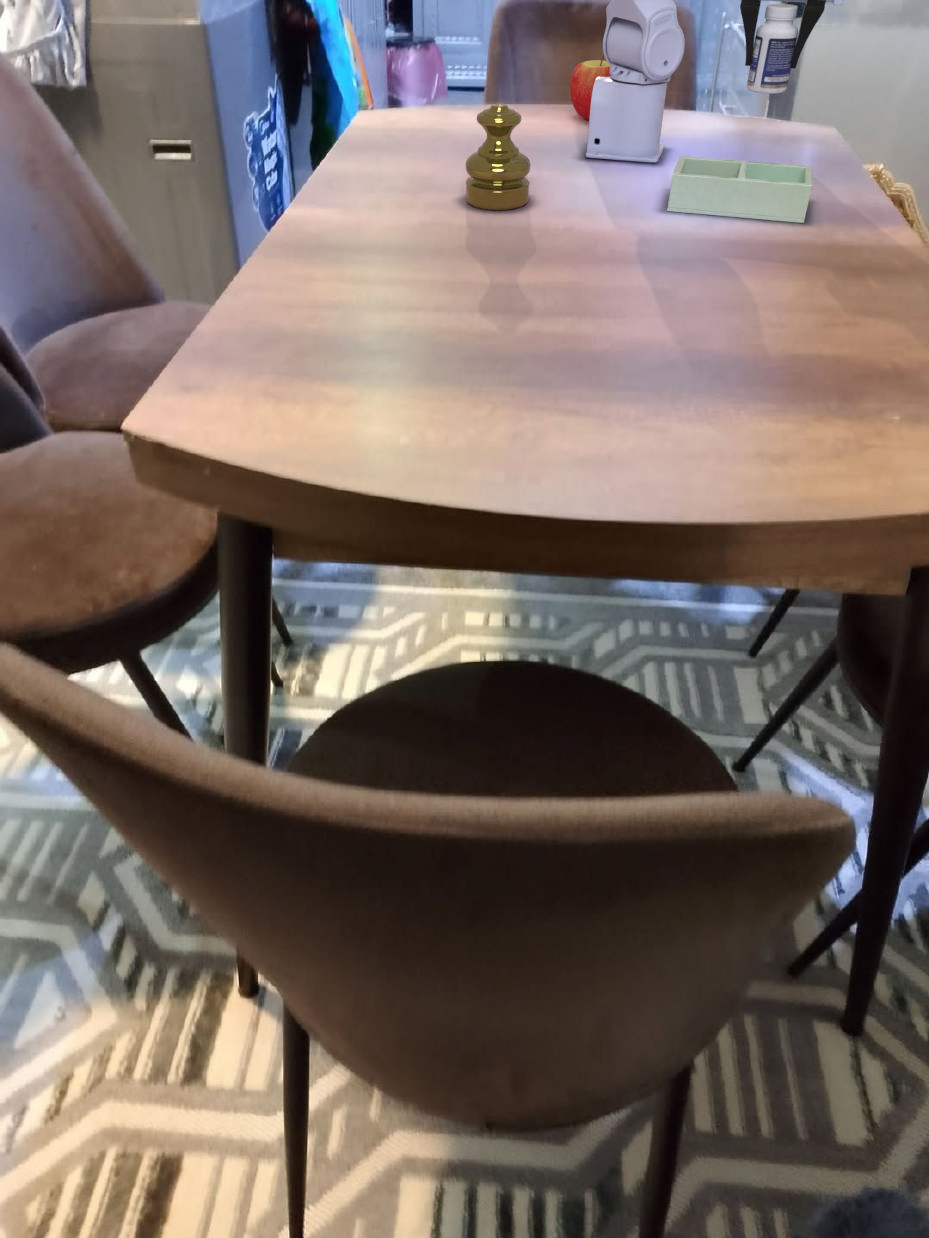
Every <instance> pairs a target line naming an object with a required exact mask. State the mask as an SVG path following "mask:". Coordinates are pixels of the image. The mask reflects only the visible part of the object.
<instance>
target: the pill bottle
mask: <svg viewBox="0 0 929 1238" xmlns="http://www.w3.org/2000/svg"><path fill="white" fill-rule="evenodd" d="M765 7H766V8H765V12H764V19H765V22H764V23H762V24H760V25H759V26H758V27H757V28H756V31H755V37H754V47H753V53H752V60H751V65H750V66H749V70H748V74H747V75H748V76H747V82H746V89H747V90H748V91H749V92H753V93H757V94H764V95H765V94H767V95H768V94H769V95H776V94H783V93H785V92H786V90H787V88H788V85H789V80H790V75H791V70H792V68H790V67H791V62H792V58H793V54H794V50H795V46H796V42H797V39H798V34H799V29H798V27H797V26H796V25H794V21H795V20H797V19H796V17H797V15H798V10H799V9H798V8H799V6H798V5H796V4H787V3H772V4H771V3H770V4H767V5H766V6H765Z"/></svg>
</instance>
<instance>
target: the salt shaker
mask: <svg viewBox="0 0 929 1238" xmlns="http://www.w3.org/2000/svg"><path fill="white" fill-rule="evenodd" d="M476 122H477V124H479V125H480V126H481V128H483V130H484V131H485V134H486V139H485V140H484V142H483V143H482V144H481V145H480V146H479V147H478V148H477V151H475V152H473V153H472V154H470V155H469V157H467V159H466V161H465V170H466V171H465V172H466V173H467V174H468V176H470V177H468V178H467V179H466V180H465V187H466V188H465V189H466V190H465V196H466V197H465V200H466V201H467V203H468V204H469V205H471V206H472V207H475V208H478V209H482V210H488V211H508V210H513V209H517V208H521V207H523V206H524V205H526V204H527V203H528V201H529V196H530V195H529V194H530V193H529V192H530V190H529V189H530V184H531V182H530V181H529V179H528V178H526V177H527V176H528V174H529V173H530V171H531V161H530V159H529V158H528V156H526V155H525V154H524V153H522V152H521V151H520V149H519V147H518V146H516V144H515V143H514V142H513V141H512V139H511V135H512V132H513V131H514V129H515V128H516V127H517V126H518V125H519V124H521V122H522V115H521V113H520V112H517V111H516V110H515V109H513V108H510V107H509V106H508V105H507V104H506V103H493V104H492V105H491V106H490V107H488V108H485V109H483V110H482V111H480V112H479V113H478V114H476Z"/></svg>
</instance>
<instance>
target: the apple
mask: <svg viewBox="0 0 929 1238" xmlns="http://www.w3.org/2000/svg"><path fill="white" fill-rule="evenodd" d="M604 58H605V56H604V54H603V55H602V56H601V59H597V60H596V59H593V60H586V61H582V62H580V63H579V64H577V65H576V66H575V67H574V69H573V71H572V73H571V78H570V84H569V95H570V99H571V104H572V106H573V108H574V110H575V112H576V114H577V115H578V116H579V117H580V118H582V119H583V120H586V121H589V119H590V107H591V98H592V91H593V86H594V82H595V80H596V78H597V77H611V74H609V71H610V64H609V63H608V62H607V60H604Z"/></svg>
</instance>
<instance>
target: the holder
mask: <svg viewBox="0 0 929 1238" xmlns="http://www.w3.org/2000/svg"><path fill="white" fill-rule="evenodd" d="M812 190H813V166H812V165H803V164H789V163H775V162H764V161H763V162H762V161H748V160H738V159H737V160H735V159H722V158H710V157H696V156H684V155H683V156H682V155H679V157H678V160H677V163H676V165H675V167H674V169H673V172H672V175H671V180H670V189H669V195H668V202H667V209H666V211H667V212H673V213H674V212H675V213H685V214H696V215H709V216H718V217H729V218H730V217H731V218H741V219H742V218H743V219H753V220H763V221H775V222H786V223H787V222H788V223H798V224H804V223H805V219H806V216H807V211H808V207H809V204H810V203H809V202H810V198H811V193H812Z"/></svg>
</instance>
